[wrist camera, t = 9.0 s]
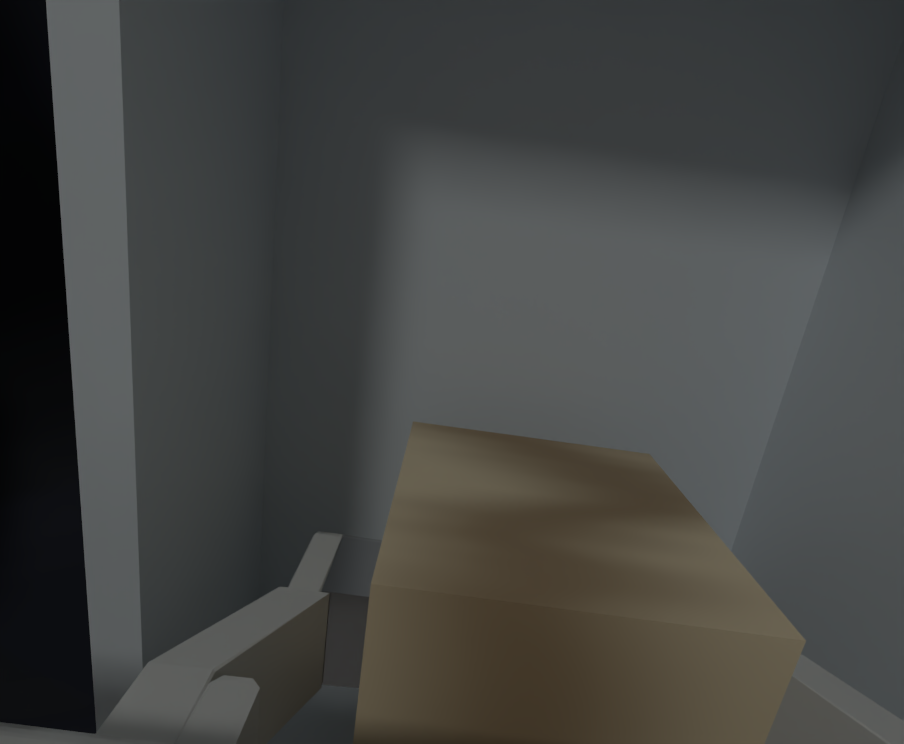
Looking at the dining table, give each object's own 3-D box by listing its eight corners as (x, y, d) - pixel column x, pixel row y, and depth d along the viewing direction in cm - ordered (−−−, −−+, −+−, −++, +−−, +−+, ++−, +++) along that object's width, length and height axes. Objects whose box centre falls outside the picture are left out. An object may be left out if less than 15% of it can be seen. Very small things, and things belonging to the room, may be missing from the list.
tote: (259, -154, 10) (1, -645, 4) (950, -44, 10) (1536, -373, 4) (238, 607, 14) (103, 834, 9) (705, 668, 15) (846, 922, 9)
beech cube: (649, 454, 11) (806, 640, 6) (597, 645, 12) (690, 927, 7) (413, 421, 10) (370, 582, 6) (388, 618, 12) (337, 885, 7)
